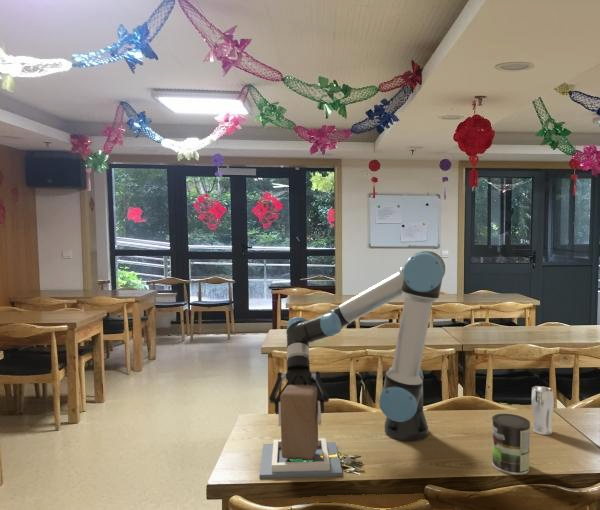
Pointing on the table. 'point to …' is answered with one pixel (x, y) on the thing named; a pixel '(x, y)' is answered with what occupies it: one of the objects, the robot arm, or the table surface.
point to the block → (299, 422)
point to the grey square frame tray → (284, 468)
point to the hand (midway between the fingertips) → (299, 423)
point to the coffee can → (511, 443)
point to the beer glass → (542, 409)
